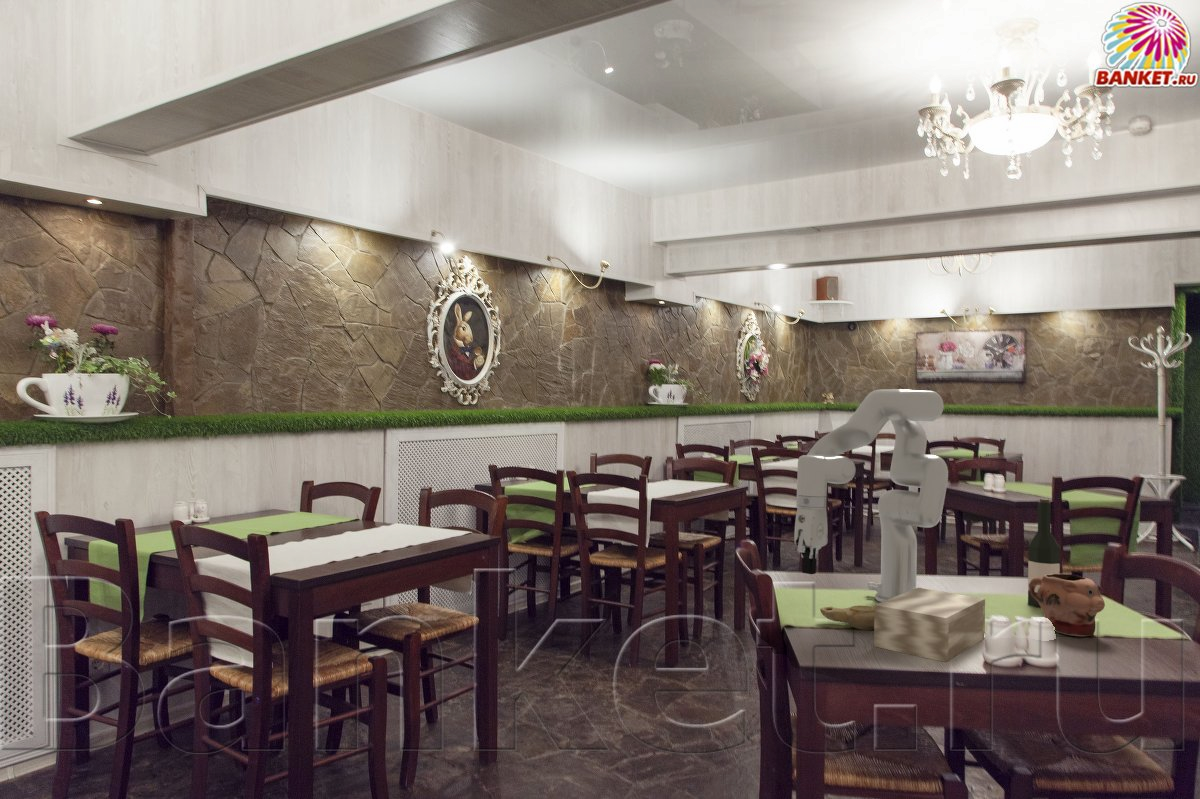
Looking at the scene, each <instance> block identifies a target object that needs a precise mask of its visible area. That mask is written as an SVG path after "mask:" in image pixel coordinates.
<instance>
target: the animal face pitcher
mask: <svg viewBox="0 0 1200 799" xmlns="http://www.w3.org/2000/svg"><path fill="white" fill-rule="evenodd" d="M1036 585H1041V586H1040V587H1039V589H1038V591H1037V596H1036V595H1035V592H1034V591H1035V587H1036ZM1029 590H1030V593H1031V595H1032V597H1033V598H1035V599H1036V600H1037V601H1038V603H1039V605H1040V606H1041V608H1040V609H1041V610H1042V613H1043V615H1044V618H1045V617H1046V618H1048V619H1049V620H1050V621H1051V622H1052V624H1053V626H1054V627H1055V630H1056V633H1059V634H1064V635H1067V636H1075V637H1088V636H1090V637H1091V636H1093V635H1094V634H1095V632H1096V616H1097V614H1098V613H1100V612H1102V611H1103V610H1104V609H1105V606H1106V605H1105V604H1106V603H1105V599H1104V598H1103V596H1102V595H1101V592H1100V588H1099V587H1098V585H1097V583H1095V582H1094V580H1092V579H1091V578H1088V577H1083V576H1079V575H1076V574H1070V573H1060V574H1047V575H1044V576H1043V578H1041V577H1037V578H1033V579H1032V580H1031V582H1030V584H1029Z"/></svg>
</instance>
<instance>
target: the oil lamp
mask: <svg viewBox="0 0 1200 799" xmlns="http://www.w3.org/2000/svg"><path fill="white" fill-rule="evenodd" d="M820 613H821V615H822V616H823V617H825V618H826V619H828V620H830V621H832V622H833V621H834V622H839V623H843V624H844V623H845V624H847V625H848V626H849V625H850V626H854V627H853V628H855V629H857V630H863V631H865V630H866V631H867V630H874V613H875V606H874V607H873V606H870V605H853V606H851V607H844V608H839V607H834V606H824V607H821V608H820Z"/></svg>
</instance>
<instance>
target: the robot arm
mask: <svg viewBox="0 0 1200 799" xmlns="http://www.w3.org/2000/svg"><path fill="white" fill-rule="evenodd" d="M944 405H945V404H944V400H943V398H942V397H941V395H940V394H939V393H937V392H936V391H934V390H933V391H932V390H917V389H916V390H915V389H914V390H913V389H905V388H904V389H902V388H899V389H898V388H893V389H892V388H891V389H890V388H889V389H885V388H884V389H876V390H872V391H871V392H869V393H868V394H867V395H866V396H865V398H864V399H863V401H862V402H861V403H860V404H859V406H858V407H857V408H856V410H855V411H854V413H853V414H852V415H851V416H850V417H849V419H848V420H847V422H846V423H844V424H842V425H840V426H839V427H837V428H835V429H833V430H832V431H831V432H829V433H827V434H825V435H824V436H822V437H821V438H819V440H817V441H816V442H815V443H814V445H813V446H812V447H811V449H810V450H809V451H808V452H807V454H803V455H801V456H799V457H798V460H797V473H796V474H797V478H796V480H797V484H796V501H795V502H796V503H795V504H796V506H795V507H796V509H797V510H796V514H795V522H794V537H793V538H794V539H793V540H794V544H795V546H796V547H797V552H798V553H801V559H802V560H801V562H802V563H801V573H803V574H807V575H808V574H809V575H815V574H817V559H818V554H819V550H821V549H822V547H825V546H827V545H828V539H829V538H828V534H829V532H828V531H829V530H828V516H827V515H828V514H827V491H828V490H827V489H828V486H827V484H828V483H829V484H835V485H842V484H846V483H847V484H848V483H849V482H851V481H852V480H853V478H854V477H855V475H856V470H857V469H856V465H855V463H854V461H853V460H852V459H851V458H850V457H847V456H845V455H841V454H843V453H845V452H849V451H852V450H856V449H860V448H863V447H865V446H868V445H870V444H872V443H873V442H874V441H875V439H876V438H877V436H878V434H879V433H880V432H881V430H882V429H883V428H884V427H885V425H886V424H887V423H888V422H889V421H890V423H891V424H892V427H893V430H894V433H895V434H894V435H895V441H894V448H893V452H892V453H893V454H892V456H891V457H892V458H891V463H890V464H891V465H890V471H889V477H890V479H891V481H892V482H893V483H895V484H896V485H899V486H904V487H911V488H918V489H919V488H920V489H919V491H912V490H904V489H890V490H887V491H885V492H883V493H882V494H881V495H880V497H879V499H878V503H877V507H878V508H877V512H878V516H879V520H880V530H881V531H880V533H881V535H880V536H881V539H880V540H881V543H880V545H881V546H880V548H881V551H880V552H881V553H880V582H878V583H876V582H874V581H873V582H872V581H868V582H867V589H868V590H870V591H875V592H876V593H875V594H874V599H875V600H876V601H877V602H878V603H881V602H883V601H886V600H888V599H891V598H893V597H896V596H898V595H901V594H903V593H906V592H908V591H911V590H914V589H916V588H917V565H918V564H917V562H918V561H917V557H918V556H917V555H918V554H917V553H918V552H917V551H918V549H917V548H918V540H917V535H916V532H915V530H914V529H913V526H914V527H919V528H927V529H928V528H933V527H936V526H937V525H938V523H939V522H940V520H941V518H942V515H943V509H944V505H945V499H946V493H947V488H948V487H947V486H948V480H949V470H948V465H947V463H946V461H945V460H944V458H942V457H940V456H938V455H935V454H926V451H927V444H928V442H927V441H928V438H927V437H928V436H927V434H926V431H925V429H924V427H923V426H922V424H921V423H920V422H934V421H935V420H937V419H939V418H940V417H941V415H942V413H943V412H944V408H945V407H944Z"/></svg>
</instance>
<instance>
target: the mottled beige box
mask: <svg viewBox="0 0 1200 799" xmlns="http://www.w3.org/2000/svg"><path fill="white" fill-rule="evenodd" d="M874 608H875V613H874V628H873V647H874V648H875V647H876V648H880V649H883V650H889V651H894V652H898V653H902V654H907V655H911V656H917V657H921V658H926V659H930V660H934V661H939V662H944V663H947V662H948V661H950V660H952V659H953V658H954V657H955V658H956V656H958V655H959V654H962V653H963V652H965V651H966V650H968V649H970V648H971V647H973V646H974V645H976V644H978V643H980V642H981V641H983V640H984V639H985V638H984V633H985V634H986V632H985V631H986V598H984V597H977V596H970V595H964V594H958V593H954V592H953V593H952V592H948V591H947V592H946V591H940V590H935V589H931V588H930V589H928V588H923V587H916V589H914V590H911V591H908V592H906V593H903V594H901V595H898V596H896V597H893V598H891V599H888V600H886V601H883V602H878V603H876V604H874Z"/></svg>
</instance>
